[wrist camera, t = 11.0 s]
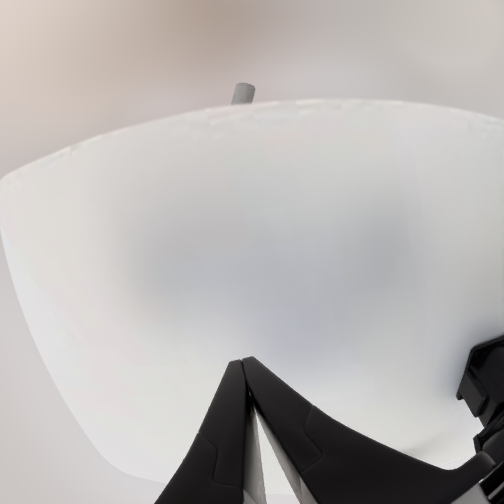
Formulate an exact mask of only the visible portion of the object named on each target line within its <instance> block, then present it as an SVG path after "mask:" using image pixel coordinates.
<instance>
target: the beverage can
mask: <svg viewBox="0 0 504 504" xmlns="http://www.w3.org/2000/svg"><path fill="white" fill-rule="evenodd" d="M254 93H255V87H254V86H253V85H251V84H248V83H238V84H237V85H236V87H235V91H234V95H233V99H232V102H231V105H240V104H252V102H253V97H254Z"/></svg>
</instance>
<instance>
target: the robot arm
mask: <svg viewBox="0 0 504 504" xmlns="http://www.w3.org/2000/svg"><path fill="white" fill-rule="evenodd" d="M456 398H457V399H458V400H462V399H464V400H465V402H466V404H467V405H468V407H469V409H470V411H471V412H472V414H473V416H474V417H475V418H476V417H479V419H480V421H481V423H482V425H483V426H484V429H483V430H482V431H481V432H480V433H479V434H477V435H476V436H475V437H474V438H473V441H474V446H475V451H476V455H475V456H473V457H472V458H471V459H470V460H468V461H467V462H466V463H465V464H463V465H462V466H460V467H459V468H457V469H453V470H445V469H441V468H439V467H436V466H433V465H431V464H428V463H426V462H423V461H421V460H418V459H416V458H413V457H411V456H408V455H406V454H404V453H401V452H399V451H397V450H395V449H392V448H390V447H388V446H386V445H383V444H381V443H379V442H377V441H375V440H373V439H371V438H369V437H367V436H365V435H363V434H361V433H358V432H357V431H355V430H353V429H351V428H349V427H347V426H345V425H343V424H341V423H340V422H338V421H336V420H334V419H333V418H331V417H330V416H328V415H327V414H325V413H324V412H323V411H321V410H320V409H318V408H317V407H316V406H314V405H313V404H311V403H310V402H309V401H308V400H306V399H305V398H304V397H302V396H301V395H300V394H299V393H297V392H296V391H295V390H293V389H292V388H291V387H290V386H288V385H287V384H286V383H285V382H284V381H282V380H281V379H280V378H279V377H277V376H276V375H275V374H274V373H273V372H271V371H270V370H269V369H268V368H266V367H265V366H264V365H263V364H262V363H261V362H259V361H258V360H257V359H256V358H255V357H253V356H251V357H247V358H243V359H242V361H241V360H240V359H239V360H235V361H231V362H229V364H228V366H227V369H226V371H225V373H224V375H223V378H222V380H221V382H220V384H219V387H218V389H217V391H216V393H215V396H214V398H213V400H212V402H211V405H210V407H209V409H208V411H207V414H206V416H205V418H204V420H203V423H202V425H201V427H200V429H199V431H198V432H199V433H197V435H196V437H195V439H194V442H193V444H192V446H191V447H190V449H189V451H188V453H187V455H186V457H185V458H184V460H183V462H182V463H181V465H180V466H179V468H178V470H177V471H176V473H175V474H174V476H173V477H172V479H171V480H170V481H169V483H168V484H167V486H166V488H165V489H164V490H163V492H162V493H161V495H160V496H159V498H158V499H157V500H156V502H155V503H154V504H267V503H266V495H265V487H264V479H263V471H262V462H261V454H260V445H259V437H258V428H257V419H256V413H257V416H258V418H259V421H260V423H261V425H262V427H263V429H264V431H265V434H266V436H267V438H268V440H269V442H270V444H271V446H272V449H273V451H274V453H275V455H276V457H277V459H278V461H279V463H280V465H281V467H282V469H283V471H284V473H285V475H286V477H287V479H288V481H289V483H290V485H291V487H292V489H293V491H294V493H295V495H296V497H297V498H298V500H299V502H300V504H504V336H503V337H500V338H498V339H495V340H493V341H490V342H488V343H485V344H482V345H480V346H477V347H474V348H473V349H472V350H471V351H470V354H469V358H468V361H467V365H466V368H465V371H464V374H463V377H462V380H461V383H460V386H459V389H458V392H457V395H456ZM254 407H255V408H254ZM255 410H256V412H255ZM482 479H483V480H482ZM480 480H482V481H481V482H480V483H479V481H480Z"/></svg>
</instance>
